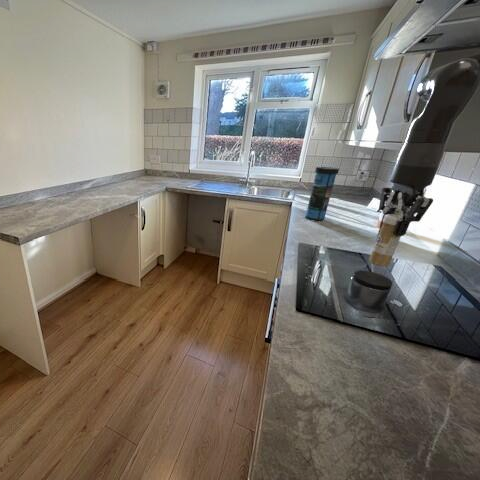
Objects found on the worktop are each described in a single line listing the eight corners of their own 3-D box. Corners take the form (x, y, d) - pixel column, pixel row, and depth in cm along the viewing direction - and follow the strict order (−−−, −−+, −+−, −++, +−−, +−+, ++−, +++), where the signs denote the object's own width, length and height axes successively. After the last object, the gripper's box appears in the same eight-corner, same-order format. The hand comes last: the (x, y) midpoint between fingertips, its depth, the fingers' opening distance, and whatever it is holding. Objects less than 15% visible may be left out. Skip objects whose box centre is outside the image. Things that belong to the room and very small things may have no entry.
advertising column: (327, 218, 157) (341, 168, 145) (322, 223, 149) (336, 169, 138) (307, 215, 164) (319, 166, 152) (301, 218, 156) (313, 167, 145)
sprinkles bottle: (364, 259, 73) (380, 213, 67) (380, 259, 72) (398, 213, 67) (376, 267, 68) (395, 218, 63) (394, 267, 68) (413, 219, 63)
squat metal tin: (369, 300, 80) (380, 271, 76) (388, 319, 71) (402, 288, 67) (337, 297, 81) (346, 268, 77) (352, 316, 73) (364, 285, 69)
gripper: (463, 167, 53) (429, 243, 60) (411, 161, 66) (388, 223, 73) (422, 166, 54) (393, 241, 61) (379, 160, 67) (359, 222, 74)
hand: (391, 231), depth 67 cm, fingers closed on sprinkles bottle, 4 cm apart
